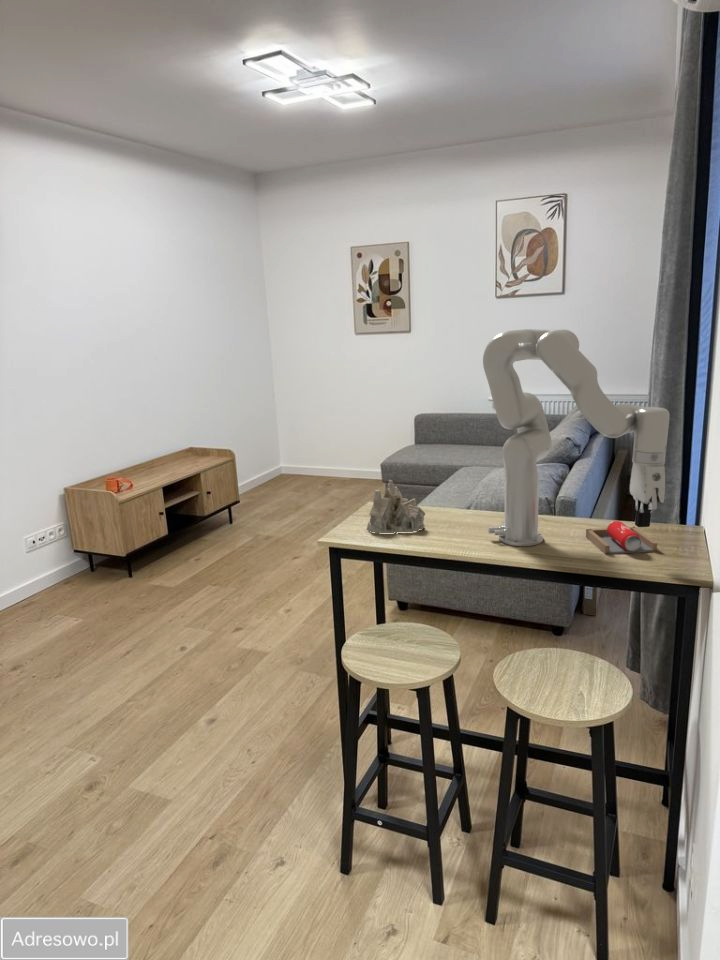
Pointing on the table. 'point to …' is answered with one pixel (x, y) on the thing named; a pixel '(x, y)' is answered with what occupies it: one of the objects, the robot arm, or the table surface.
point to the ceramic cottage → (394, 513)
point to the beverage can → (624, 536)
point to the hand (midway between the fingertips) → (642, 525)
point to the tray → (612, 547)
